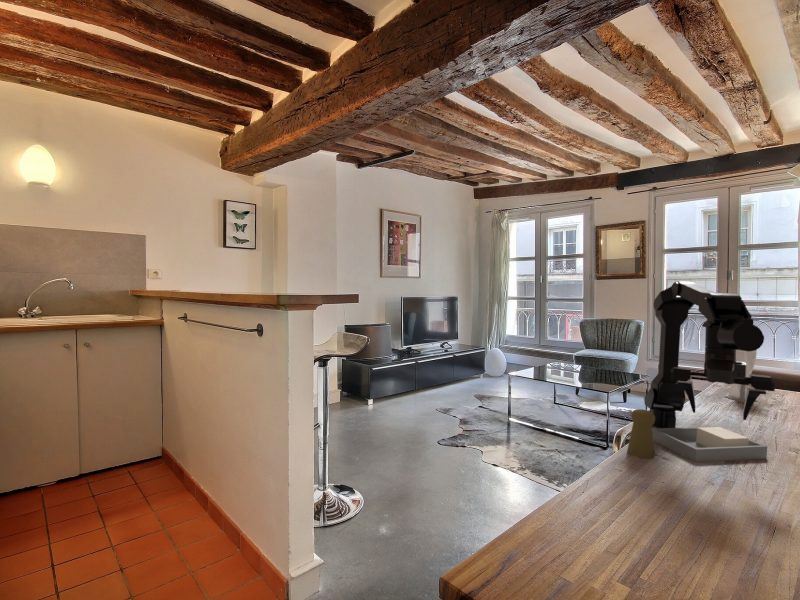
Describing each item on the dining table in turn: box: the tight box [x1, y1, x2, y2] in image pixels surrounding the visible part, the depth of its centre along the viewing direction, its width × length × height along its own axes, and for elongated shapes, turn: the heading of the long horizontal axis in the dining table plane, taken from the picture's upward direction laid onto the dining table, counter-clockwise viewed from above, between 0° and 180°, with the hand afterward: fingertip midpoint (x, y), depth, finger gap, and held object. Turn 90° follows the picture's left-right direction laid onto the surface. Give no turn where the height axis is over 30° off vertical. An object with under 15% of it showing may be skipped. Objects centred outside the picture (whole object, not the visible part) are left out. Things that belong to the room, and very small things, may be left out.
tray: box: [652, 426, 768, 463], centre depth 110 cm, size 14×20×4 cm
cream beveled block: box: [696, 426, 750, 448], centre depth 110 cm, size 8×7×4 cm
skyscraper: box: [724, 349, 758, 403], centre depth 164 cm, size 8×8×28 cm
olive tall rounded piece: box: [627, 408, 656, 460], centre depth 107 cm, size 6×6×11 cm
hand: (718, 416), depth 98 cm, fingers open, 9 cm apart
